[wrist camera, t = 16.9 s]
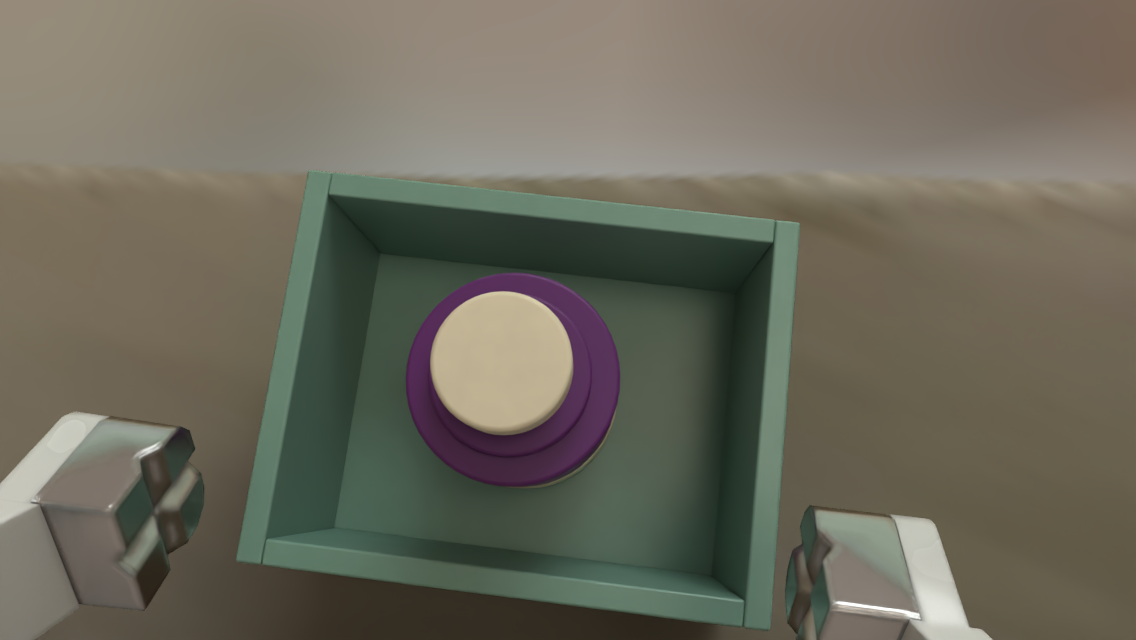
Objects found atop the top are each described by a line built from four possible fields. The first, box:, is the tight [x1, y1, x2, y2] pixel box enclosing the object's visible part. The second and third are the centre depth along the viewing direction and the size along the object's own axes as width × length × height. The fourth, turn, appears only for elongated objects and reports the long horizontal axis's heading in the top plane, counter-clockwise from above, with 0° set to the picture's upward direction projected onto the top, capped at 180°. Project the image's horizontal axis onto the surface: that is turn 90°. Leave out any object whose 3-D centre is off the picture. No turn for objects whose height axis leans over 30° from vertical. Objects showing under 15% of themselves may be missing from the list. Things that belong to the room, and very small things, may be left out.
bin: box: [236, 170, 800, 631], centre depth 19 cm, size 10×8×5 cm
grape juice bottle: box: [406, 273, 620, 488], centre depth 17 cm, size 4×4×8 cm
